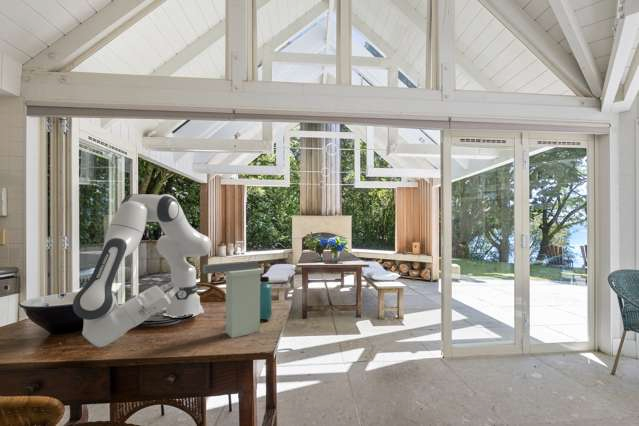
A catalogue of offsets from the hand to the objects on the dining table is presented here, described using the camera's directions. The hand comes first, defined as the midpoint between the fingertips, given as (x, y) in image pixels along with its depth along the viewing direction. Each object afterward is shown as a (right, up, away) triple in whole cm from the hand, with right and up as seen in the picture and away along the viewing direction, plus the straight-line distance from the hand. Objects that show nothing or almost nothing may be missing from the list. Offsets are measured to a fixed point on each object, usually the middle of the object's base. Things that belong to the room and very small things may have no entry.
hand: (175, 285), depth 119 cm
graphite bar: (+17, +3, +12) cm, 21 cm away
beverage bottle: (+27, -23, +31) cm, 47 cm away
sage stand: (+21, -23, +15) cm, 35 cm away
